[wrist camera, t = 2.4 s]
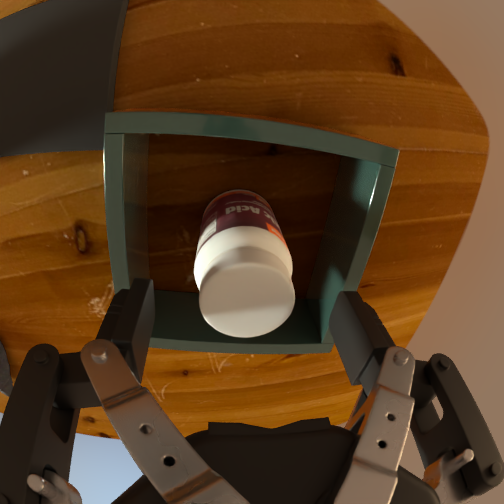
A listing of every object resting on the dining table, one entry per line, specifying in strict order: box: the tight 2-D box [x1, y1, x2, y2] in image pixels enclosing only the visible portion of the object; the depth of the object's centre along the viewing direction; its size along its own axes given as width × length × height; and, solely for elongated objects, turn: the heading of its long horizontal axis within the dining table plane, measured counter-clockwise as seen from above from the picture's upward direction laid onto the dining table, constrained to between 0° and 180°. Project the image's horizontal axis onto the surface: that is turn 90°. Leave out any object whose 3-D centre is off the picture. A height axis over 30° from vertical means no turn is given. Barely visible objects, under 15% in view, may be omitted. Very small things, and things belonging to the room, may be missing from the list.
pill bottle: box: [194, 189, 295, 338], centre depth 15 cm, size 5×5×8 cm
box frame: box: [104, 108, 400, 354], centre depth 17 cm, size 14×14×5 cm
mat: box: [0, 0, 129, 157], centre depth 12 cm, size 11×11×1 cm
